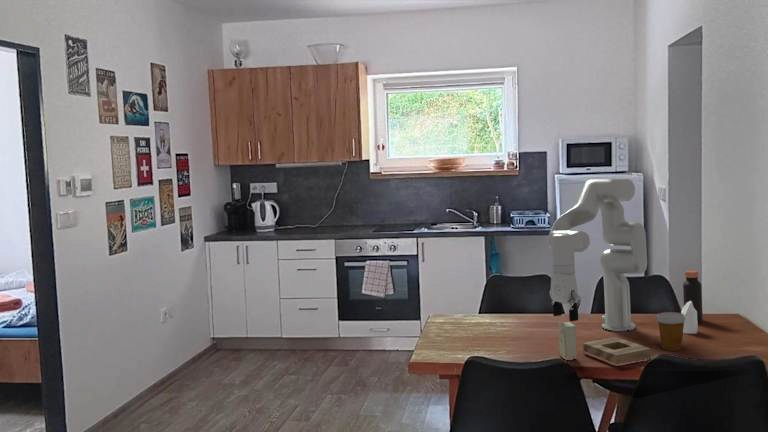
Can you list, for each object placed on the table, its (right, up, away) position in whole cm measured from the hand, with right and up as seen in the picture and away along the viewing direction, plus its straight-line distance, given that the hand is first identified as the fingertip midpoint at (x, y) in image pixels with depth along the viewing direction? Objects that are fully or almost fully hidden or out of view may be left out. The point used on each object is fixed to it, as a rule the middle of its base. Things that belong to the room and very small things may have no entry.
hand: (565, 318), depth 249 cm
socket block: (+17, -13, -1) cm, 22 cm away
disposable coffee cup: (+38, -11, +4) cm, 40 cm away
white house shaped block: (+53, -9, +23) cm, 58 cm away
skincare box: (+1, -14, +2) cm, 15 cm away
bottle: (+61, -7, +39) cm, 72 cm away
